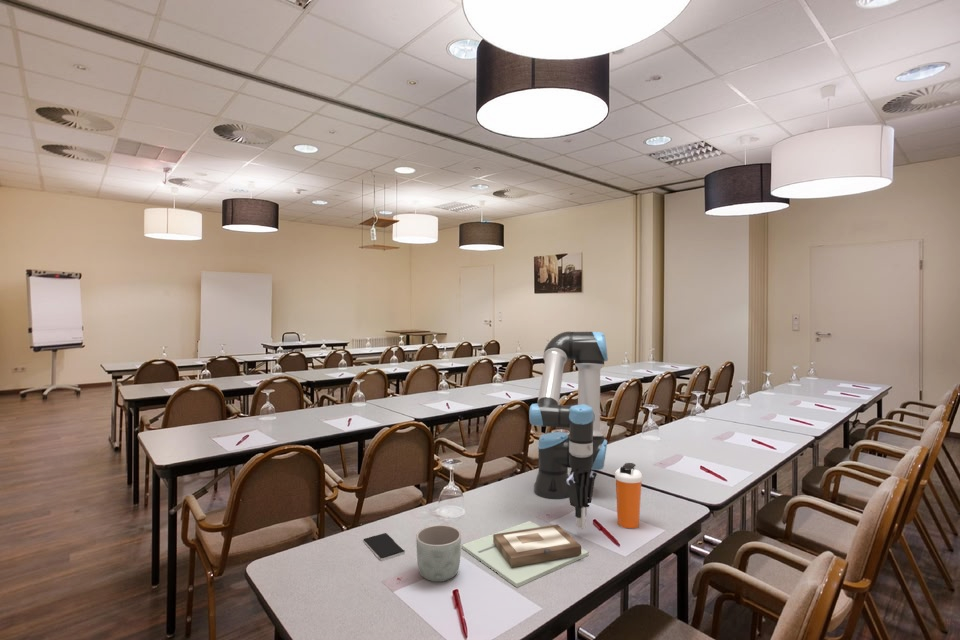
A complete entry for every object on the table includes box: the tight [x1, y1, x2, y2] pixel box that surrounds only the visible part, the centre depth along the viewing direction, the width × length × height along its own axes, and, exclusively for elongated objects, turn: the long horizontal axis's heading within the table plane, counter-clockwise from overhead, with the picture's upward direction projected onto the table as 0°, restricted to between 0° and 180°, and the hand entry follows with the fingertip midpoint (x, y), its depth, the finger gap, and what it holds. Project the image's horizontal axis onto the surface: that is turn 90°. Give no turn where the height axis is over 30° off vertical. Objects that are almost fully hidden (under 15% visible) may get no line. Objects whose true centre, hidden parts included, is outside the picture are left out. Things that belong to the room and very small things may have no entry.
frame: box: [492, 523, 582, 567], centre depth 144 cm, size 16×22×3 cm
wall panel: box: [461, 520, 589, 588], centre depth 146 cm, size 26×28×1 cm
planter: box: [415, 524, 462, 583], centre depth 134 cm, size 12×12×11 cm
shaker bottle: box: [614, 462, 643, 529], centre depth 164 cm, size 9×9×20 cm
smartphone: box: [363, 532, 406, 562], centre depth 149 cm, size 8×1×15 cm
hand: (580, 526), depth 156 cm, fingers closed
